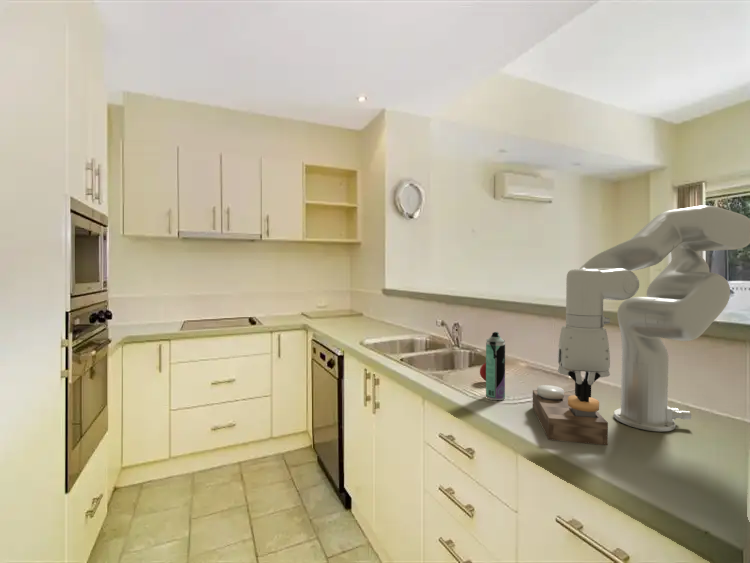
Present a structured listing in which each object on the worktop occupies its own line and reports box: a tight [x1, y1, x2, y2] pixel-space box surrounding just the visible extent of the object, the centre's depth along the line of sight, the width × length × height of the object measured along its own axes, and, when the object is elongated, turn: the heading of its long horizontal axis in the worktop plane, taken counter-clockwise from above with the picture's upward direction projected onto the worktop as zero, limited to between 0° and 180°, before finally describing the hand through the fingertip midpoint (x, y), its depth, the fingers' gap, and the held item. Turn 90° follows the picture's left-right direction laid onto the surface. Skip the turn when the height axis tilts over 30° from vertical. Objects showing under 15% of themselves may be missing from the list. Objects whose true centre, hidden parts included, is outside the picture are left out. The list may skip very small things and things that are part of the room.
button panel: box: [532, 389, 609, 446], centre depth 92 cm, size 12×20×5 cm, turn 166°
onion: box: [479, 362, 486, 382], centre depth 126 cm, size 6×6×8 cm
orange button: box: [568, 395, 600, 418], centre depth 86 cm, size 6×6×7 cm
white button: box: [536, 384, 565, 401], centre depth 97 cm, size 6×6×7 cm
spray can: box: [485, 331, 506, 401], centre depth 111 cm, size 6×6×20 cm
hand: (582, 399), depth 86 cm, fingers closed
